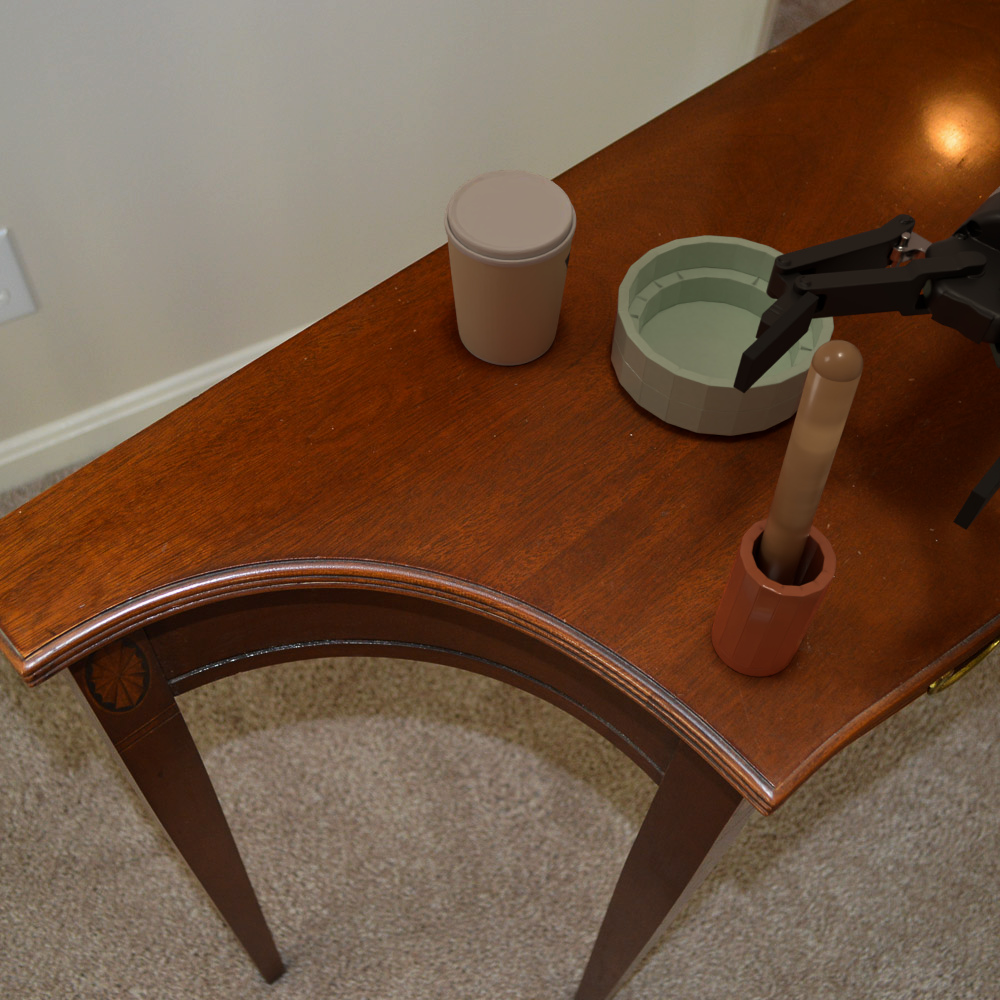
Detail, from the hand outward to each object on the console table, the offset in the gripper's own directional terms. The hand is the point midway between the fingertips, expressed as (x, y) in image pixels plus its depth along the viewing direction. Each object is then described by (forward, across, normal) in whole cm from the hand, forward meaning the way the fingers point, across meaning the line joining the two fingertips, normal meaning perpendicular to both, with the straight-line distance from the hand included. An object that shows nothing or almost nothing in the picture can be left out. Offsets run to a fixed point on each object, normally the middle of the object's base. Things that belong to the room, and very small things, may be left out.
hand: (850, 439), depth 57 cm
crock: (+3, 0, -18) cm, 18 cm away
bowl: (-15, +16, -18) cm, 28 cm away
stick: (+3, 0, -17) cm, 17 cm away
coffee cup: (-7, +30, -18) cm, 36 cm away
